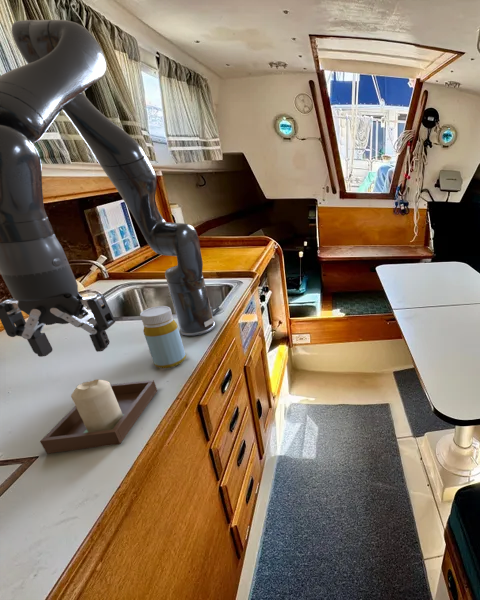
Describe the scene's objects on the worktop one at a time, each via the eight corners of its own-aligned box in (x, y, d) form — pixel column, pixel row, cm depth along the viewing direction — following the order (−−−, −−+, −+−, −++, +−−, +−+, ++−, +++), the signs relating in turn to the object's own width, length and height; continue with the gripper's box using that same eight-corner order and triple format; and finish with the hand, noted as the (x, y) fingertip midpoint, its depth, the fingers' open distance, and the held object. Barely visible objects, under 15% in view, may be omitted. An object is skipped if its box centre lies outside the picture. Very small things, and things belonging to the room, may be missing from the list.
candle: (121, 409, 68) (105, 370, 64) (125, 424, 65) (108, 384, 60) (86, 423, 65) (67, 382, 60) (88, 439, 61) (68, 397, 57)
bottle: (151, 372, 81) (134, 319, 75) (158, 357, 87) (142, 307, 81) (184, 366, 84) (169, 314, 78) (188, 352, 90) (174, 303, 84)
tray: (99, 396, 73) (94, 385, 71) (157, 390, 75) (154, 380, 74) (46, 453, 59) (39, 441, 57) (120, 444, 61) (114, 431, 60)
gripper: (102, 257, 56) (131, 337, 63) (0, 260, 53) (43, 344, 60) (72, 271, 49) (108, 359, 56) (-46, 275, 46) (8, 368, 53)
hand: (74, 351), depth 58 cm, fingers open, 8 cm apart
